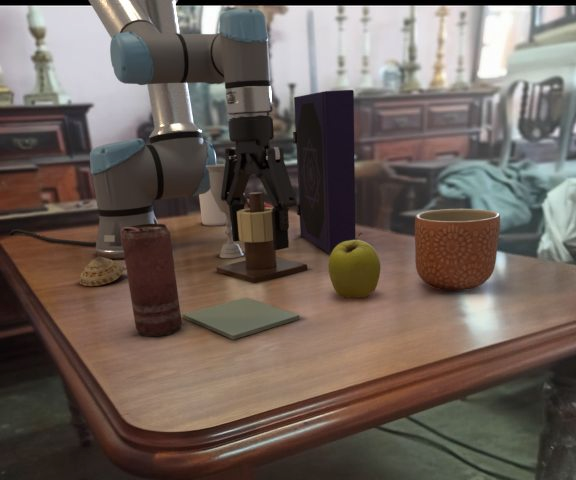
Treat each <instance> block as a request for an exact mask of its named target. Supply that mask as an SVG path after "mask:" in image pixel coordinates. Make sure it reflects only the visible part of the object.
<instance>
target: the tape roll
mask: <svg viewBox="0 0 576 480" xmlns="http://www.w3.org/2000/svg"><path fill="white" fill-rule="evenodd" d="M272 209H273V208H268V207H264V210H265V212H255V213H250V208H248V209H242V210H240V211H237V220H238V232H239V240H240V241H241V242H242V243H244V242H251V243H252V242H254V243H255V242H265V241H266V242H267V241H272V240H273V228H272V213H271V211H272ZM240 241H239V242H240Z"/></svg>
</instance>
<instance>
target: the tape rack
mask: <svg viewBox="0 0 576 480" xmlns="http://www.w3.org/2000/svg"><path fill="white" fill-rule="evenodd" d="M248 197H249V206H250V213H255V212H265V210H264V202H265V196H264V192H263V191H254V192H249V193H248ZM243 247H244V259H245V260H242V261H241V260H240V261H238V262H237V261H236V262H232V263H228V264H223V265H220V266H216V267H215V268H216V273H218V274H222V275H225V276H227V277H232V278H235V279H239V280H242V281H245V282H249V283H253V284H256V283H257V284H258V283H260V282H265V281H269V280H273V279H277V278H280V277H285V276H288V275H293V274H296V273H301V272H304V271H308V264H307V263H302V262H298V261H294V260H289V259H285V258H280V257H277V250H274V243H273V240H272V241H267V242H266V241H265V242H255V243H254V242H252V243H251V242H243Z"/></svg>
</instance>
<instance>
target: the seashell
mask: <svg viewBox="0 0 576 480" xmlns="http://www.w3.org/2000/svg"><path fill="white" fill-rule="evenodd" d="M124 271H127V269H126V266H125V265H121V264H119V263H118V262H117V261H115V260H113V259H110V258H103V257H99V256H96V257H95V258H94V259H92V260H91V261H90V262H89V263H88V264H87V265H86V266H85V267H84V268H83V270H82V271H81V273H80V275H79V280H78V282H79V285H81V286H84V287H97V286H104V285H106V284H110V283H112V282H114V281H116V280H118V279H119V278H120V277H121V276H122V275H123V272H124Z"/></svg>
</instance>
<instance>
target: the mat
mask: <svg viewBox="0 0 576 480" xmlns="http://www.w3.org/2000/svg"><path fill="white" fill-rule="evenodd" d="M182 318H183V319H184V320H187V321H189V322H192V323H194V324H196V325H199V326H200V327H203V328H205V329H208V330H210V331H212V332H214V333H217V334H218V335H222V336H224V337H226V338H228V339H231V340H233V341H234V340H238V339H241V338H244V337H246V336H251V335H253V334H257V333H259V332H260V333H261V332H263V331H267V330H268V329H272V328H275V327H276V328H277V327H279V326H282V325H285V324H288V323H292V322H295V321H298V320H300V314H297V313H295V312H292V311H288V310H285V309H282V308H278V307H276V306H273V305H271V304H266V303H263V302H260V301H257V300H255V299H252V298H249V297H242V298H238V299H234V300H231V301H226V302H223V303H220V304H216V305H212V306H207V307H204V308H201V309H200V308H199V309H197V310H193V311H191V312H186V313H183V314H182Z"/></svg>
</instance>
